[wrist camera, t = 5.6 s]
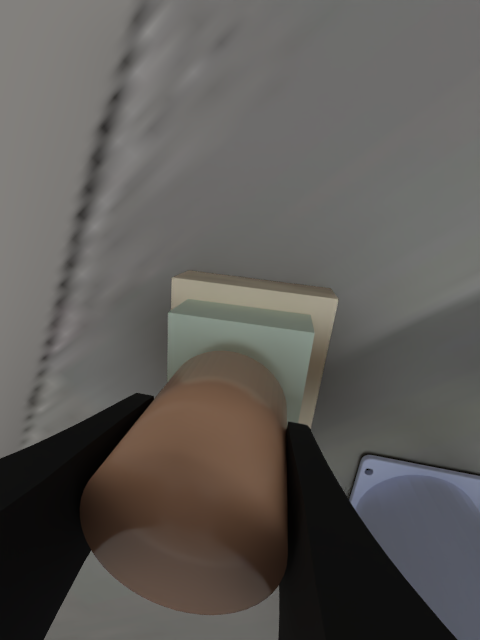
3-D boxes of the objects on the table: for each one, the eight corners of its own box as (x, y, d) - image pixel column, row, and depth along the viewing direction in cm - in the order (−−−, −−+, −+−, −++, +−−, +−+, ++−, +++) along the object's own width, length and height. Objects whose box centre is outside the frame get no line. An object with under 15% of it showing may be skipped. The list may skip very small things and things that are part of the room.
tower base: (304, 408, 18) (308, 440, 16) (185, 387, 19) (168, 414, 16) (329, 287, 16) (338, 299, 13) (191, 269, 17) (171, 277, 14)
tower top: (291, 421, 15) (292, 455, 13) (184, 401, 16) (166, 431, 14) (310, 315, 13) (314, 333, 11) (188, 298, 14) (168, 312, 12)
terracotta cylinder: (278, 466, 11) (273, 635, 6) (167, 445, 12) (87, 587, 7) (295, 360, 10) (303, 477, 5) (168, 342, 10) (70, 432, 6)
